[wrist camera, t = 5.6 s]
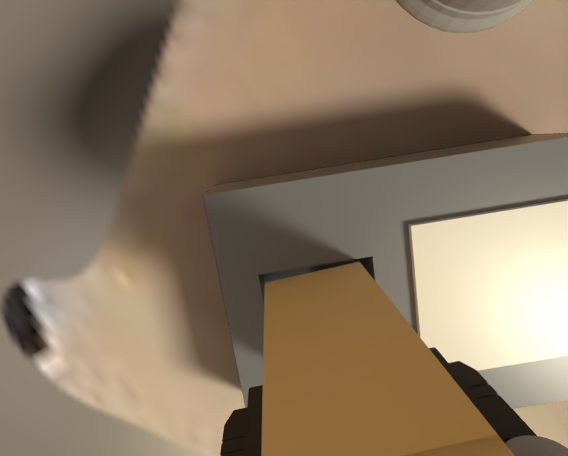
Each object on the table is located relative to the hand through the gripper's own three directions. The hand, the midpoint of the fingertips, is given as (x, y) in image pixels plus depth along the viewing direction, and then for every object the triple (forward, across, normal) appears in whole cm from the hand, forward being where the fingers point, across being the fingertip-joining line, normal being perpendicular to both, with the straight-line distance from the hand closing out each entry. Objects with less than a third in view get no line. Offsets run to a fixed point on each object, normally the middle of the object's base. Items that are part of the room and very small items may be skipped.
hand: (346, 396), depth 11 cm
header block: (+10, -4, 0) cm, 10 cm away
